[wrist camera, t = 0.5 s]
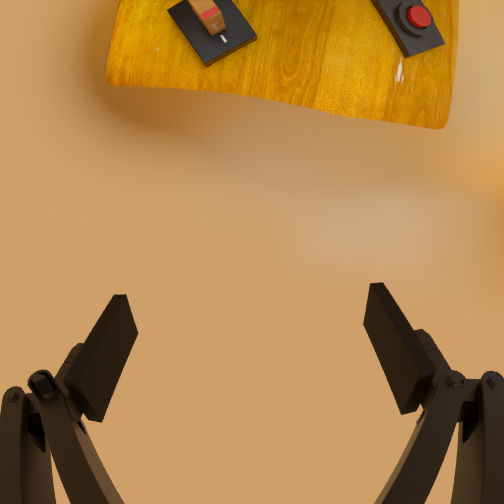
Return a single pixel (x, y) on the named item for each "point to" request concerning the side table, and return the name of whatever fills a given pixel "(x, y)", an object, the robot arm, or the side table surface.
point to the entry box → (408, 26)
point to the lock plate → (219, 43)
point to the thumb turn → (208, 15)
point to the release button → (418, 16)
